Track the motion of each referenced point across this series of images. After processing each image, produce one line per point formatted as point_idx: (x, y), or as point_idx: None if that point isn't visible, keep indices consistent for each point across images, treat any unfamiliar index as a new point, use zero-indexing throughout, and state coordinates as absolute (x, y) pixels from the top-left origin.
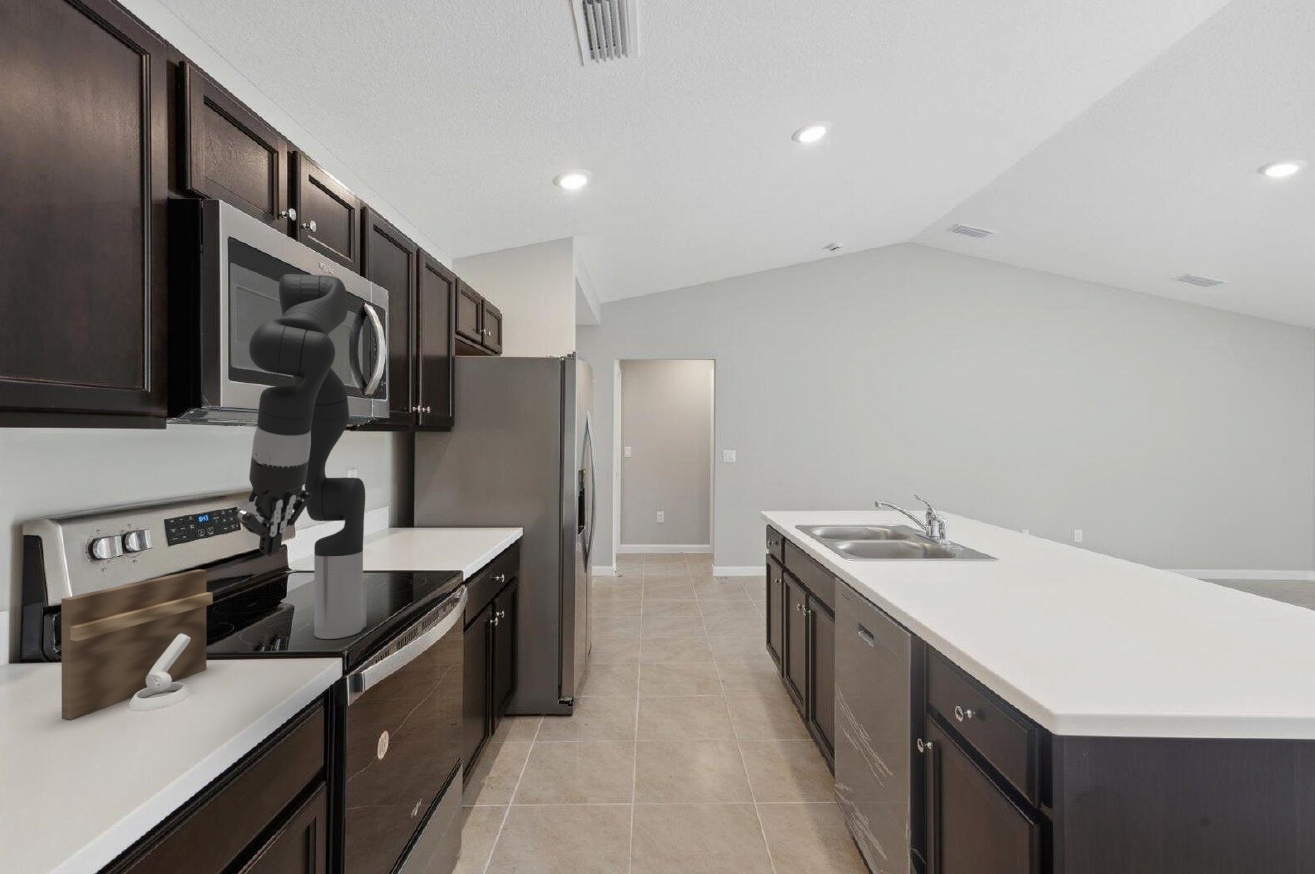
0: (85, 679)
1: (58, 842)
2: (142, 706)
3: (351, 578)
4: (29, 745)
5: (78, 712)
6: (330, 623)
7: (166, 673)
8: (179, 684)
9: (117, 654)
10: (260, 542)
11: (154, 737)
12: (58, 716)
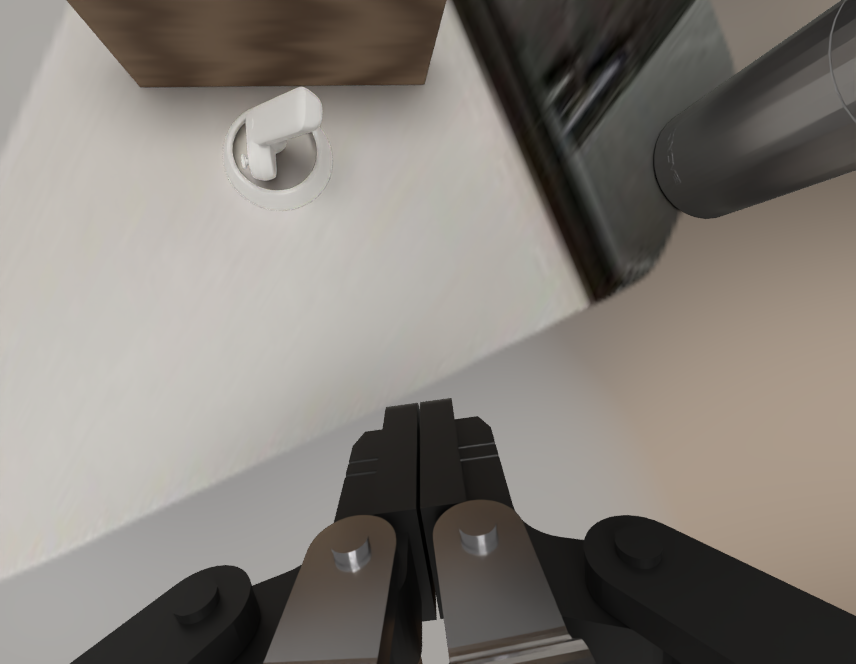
0: (131, 36)
1: None
2: (229, 174)
3: (852, 160)
4: (42, 136)
5: (150, 81)
6: (689, 175)
7: (265, 157)
8: (317, 152)
9: (194, 9)
10: (346, 488)
11: (167, 332)
12: None
